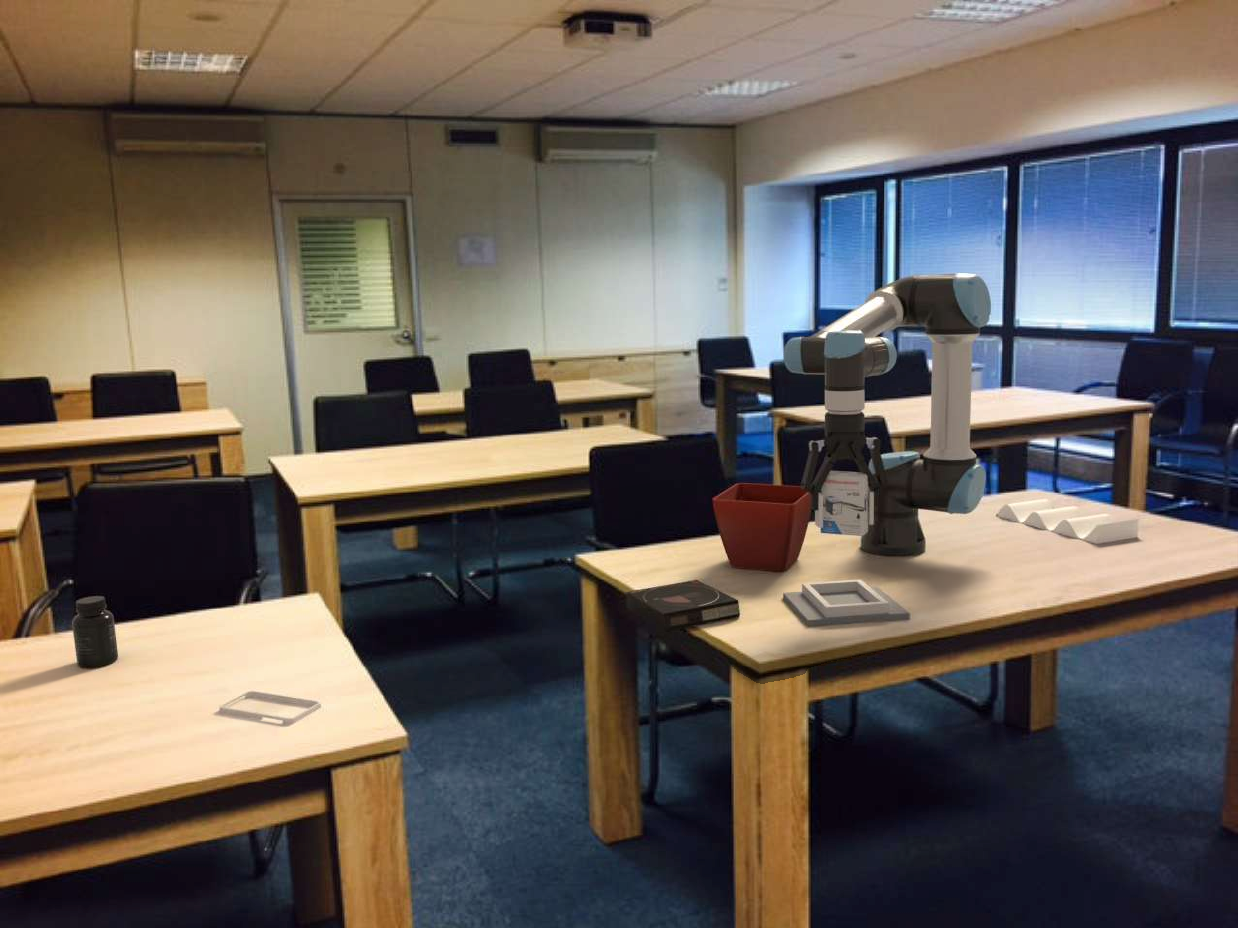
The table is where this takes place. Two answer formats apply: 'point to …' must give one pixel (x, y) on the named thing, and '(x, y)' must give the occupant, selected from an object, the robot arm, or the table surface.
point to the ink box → (845, 503)
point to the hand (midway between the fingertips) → (844, 524)
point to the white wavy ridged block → (1069, 521)
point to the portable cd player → (682, 605)
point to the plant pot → (762, 524)
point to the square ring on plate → (843, 603)
